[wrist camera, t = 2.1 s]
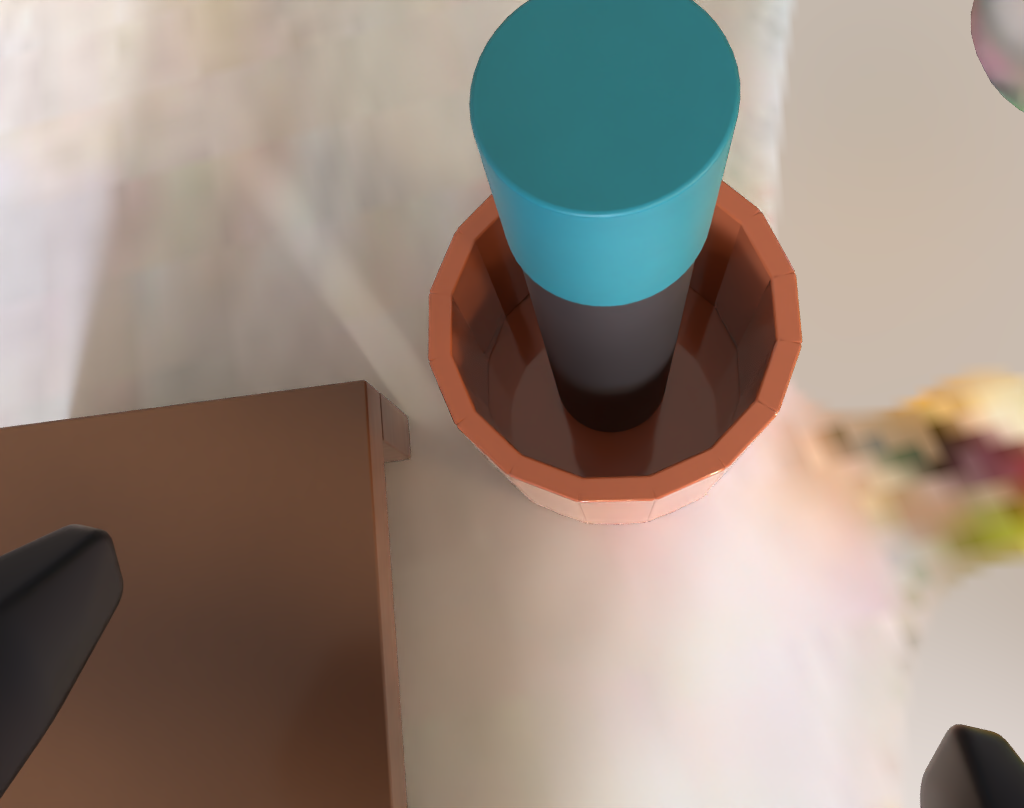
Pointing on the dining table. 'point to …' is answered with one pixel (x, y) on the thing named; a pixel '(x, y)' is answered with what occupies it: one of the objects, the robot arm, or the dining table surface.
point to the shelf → (224, 602)
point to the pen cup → (689, 390)
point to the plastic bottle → (1001, 45)
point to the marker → (606, 181)
